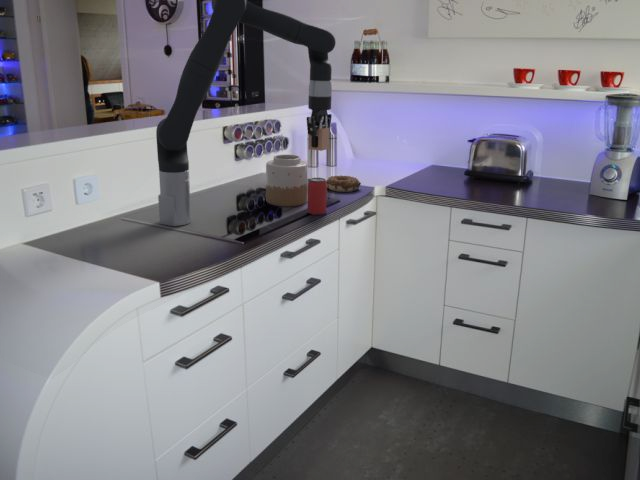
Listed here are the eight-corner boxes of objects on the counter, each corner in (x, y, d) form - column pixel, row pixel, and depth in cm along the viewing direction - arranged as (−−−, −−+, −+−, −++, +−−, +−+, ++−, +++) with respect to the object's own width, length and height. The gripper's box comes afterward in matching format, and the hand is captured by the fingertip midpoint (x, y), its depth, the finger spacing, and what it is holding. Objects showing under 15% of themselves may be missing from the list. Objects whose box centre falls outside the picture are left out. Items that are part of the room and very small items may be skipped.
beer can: (324, 216, 207) (325, 182, 203) (305, 214, 208) (306, 180, 204) (327, 211, 213) (328, 178, 209) (309, 209, 214) (310, 176, 210)
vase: (311, 198, 230) (313, 154, 224) (299, 208, 216) (300, 162, 210) (274, 194, 234) (274, 151, 228) (259, 204, 220) (259, 158, 214)
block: (321, 150, 200) (322, 129, 198) (308, 149, 202) (309, 128, 200) (328, 148, 204) (329, 127, 202) (315, 147, 207) (316, 126, 204)
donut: (322, 191, 241) (322, 179, 240) (330, 184, 254) (330, 172, 252) (357, 194, 238) (358, 182, 236) (363, 187, 251) (364, 175, 249)
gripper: (320, 96, 190) (318, 150, 195) (339, 94, 202) (337, 144, 208) (299, 95, 193) (298, 148, 199) (320, 92, 206) (318, 142, 211)
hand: (318, 146), depth 203 cm, fingers closed on block, 5 cm apart
